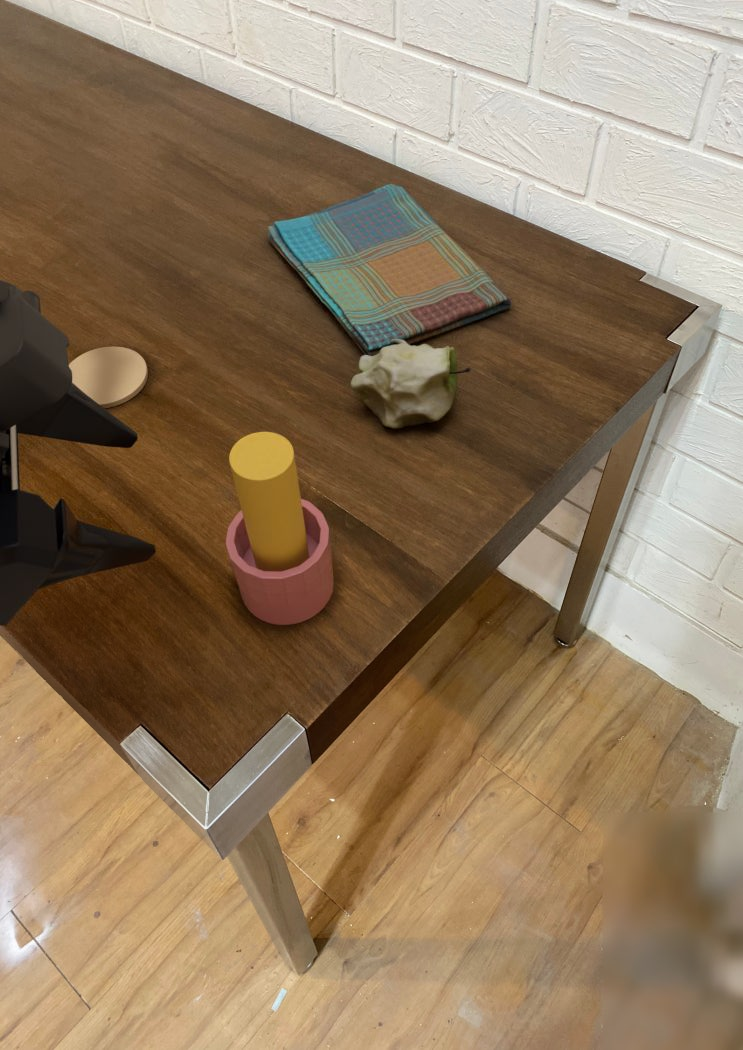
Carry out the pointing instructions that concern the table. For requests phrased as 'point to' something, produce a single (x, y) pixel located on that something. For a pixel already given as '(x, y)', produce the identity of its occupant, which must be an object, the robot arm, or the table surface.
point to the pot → (284, 574)
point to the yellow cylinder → (270, 500)
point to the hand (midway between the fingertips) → (142, 494)
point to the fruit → (408, 383)
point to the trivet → (109, 374)
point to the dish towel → (386, 269)
